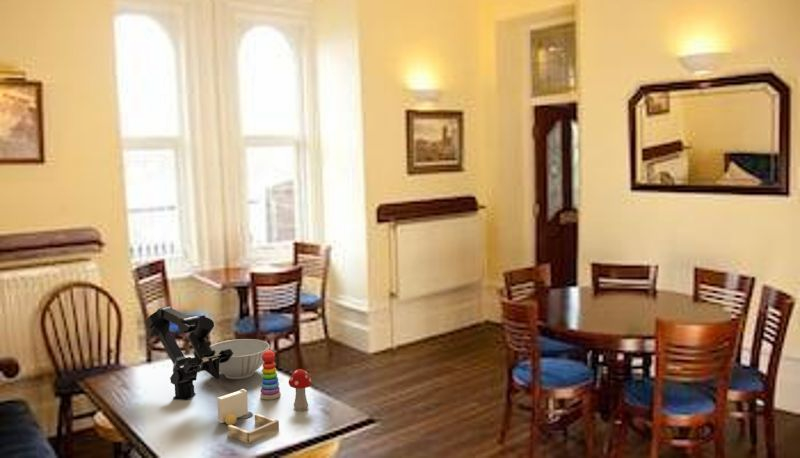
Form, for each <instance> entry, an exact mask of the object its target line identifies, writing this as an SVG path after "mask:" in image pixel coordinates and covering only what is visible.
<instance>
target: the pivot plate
mask: <svg viewBox="0 0 800 458" xmlns="http://www.w3.org/2000/svg"><path fill="white" fill-rule="evenodd" d="M252 416H253V412H251V411H248V414H246V415H243V416H241V417H238V418H237V419H238V420H244V419H249V418H252Z"/></svg>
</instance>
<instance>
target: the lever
mask: <svg viewBox="0 0 800 458" xmlns="http://www.w3.org/2000/svg"><path fill="white" fill-rule="evenodd" d="M216 400H217V401H216V402H217V418H218V422H219V423H221V424H224V423H226V422H225V418H226V416H227V415H228V414H234V415H235V416H236V418H237V419H238V417H241V416H243V415H246V414H248V412H249V409H248V391H247V390H246V389H245V388H241V389H239V390H237V391H234V392H231V393H228V394H225V395H222V396H219V397H217V399H216Z"/></svg>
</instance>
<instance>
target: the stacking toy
mask: <svg viewBox="0 0 800 458" xmlns="http://www.w3.org/2000/svg"><path fill="white" fill-rule="evenodd" d="M275 358H276V354H275V352H273V351H272V350H270V349H269V350H268V351H265V352H264V353H263V355H262V359H263V361H264V363H263V364H262V369H261V372H262V373H261V383H260V384H261V385H260V387H261V388H260V396H259V397H260V398H261V399H262V400H266V401H268V400H269V401H270V400H271V401H272V400H276V399H278V398H279V397H280V396H281V390H280V386H279V385H280V382H279V377H278V372H276V371H277V368H276V362H274V361H275V360H276V359H275Z"/></svg>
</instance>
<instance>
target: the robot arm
mask: <svg viewBox="0 0 800 458" xmlns="http://www.w3.org/2000/svg"><path fill="white" fill-rule="evenodd" d="M171 323H172V324H174V325H175V326H177V329H178V330H179V331H180V332H181V333H182V334H188V333H189V334H188V335H187V338H186V343H190V345H191V347H192V349H193V356H194V357H191V356H188V357H186V356H185V354H184V352H182V349H181V348H180V345H179V344H178V342H177V341H176V339H175V337H174V336H173V334H172V332H171V330H170V326H171ZM145 325H146V328H147V329H148V331H149V332H150V334H152V335H154V336H156V337H158V339H159V340H160V343H161V344H162V346H163V348H164V350H165V351H166V353H167V354H168V357H169V359H170V360H171V362H172V365H173V366H172V374H171V376H170V377H169V380H170V384H172V385H174V395H175V396H173V397H172V399H173V400H185V401H188V400H189V399H191V398H193V397H194V396H195V395H196V393H195V384H194V381H197V376H198V373H201V372H206V373H208V374H209V375H210V376H212V378H214V379H215V380H216V381H218V380H220V378H221V377H220V372H219V363H224V362H227V361H228V360H229V359H230V358H231V356H232V355H233V352H232V350H231V349H229V348H228V349H224V350H221V351H220V353H219V354H218V355H214V354H215V353H216V352H215V350H213V351H212V349H211V347H210V346H211V344H212V343H211V341H208V340H207V339H208V338H207V337H208V336H209V335H210V334H211V331H212V330H213V329H214V327H215V323H214V320H212V319H211V318H209V317H207V316H206V315H204V314H203V315H199V316H197V315H194V314H193V315H192V314H183V312H180V311H177V310H176V309H174V308H172V306H169V305H167V306H163V307H160V308H158V309H157V310H156V311H155V312H154V313H152V314H150V315H149V316H148V318H147V319H146V320H145Z"/></svg>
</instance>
